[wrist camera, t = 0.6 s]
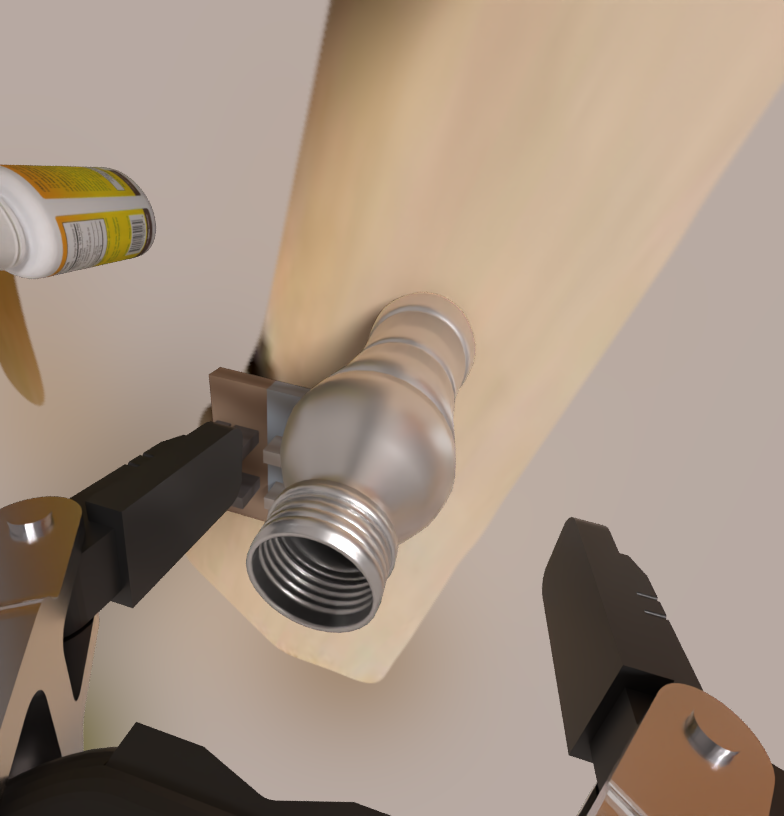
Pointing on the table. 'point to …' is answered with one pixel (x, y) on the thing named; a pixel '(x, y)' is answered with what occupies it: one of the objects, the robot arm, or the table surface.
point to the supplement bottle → (70, 219)
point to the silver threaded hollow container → (364, 467)
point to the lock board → (255, 432)
